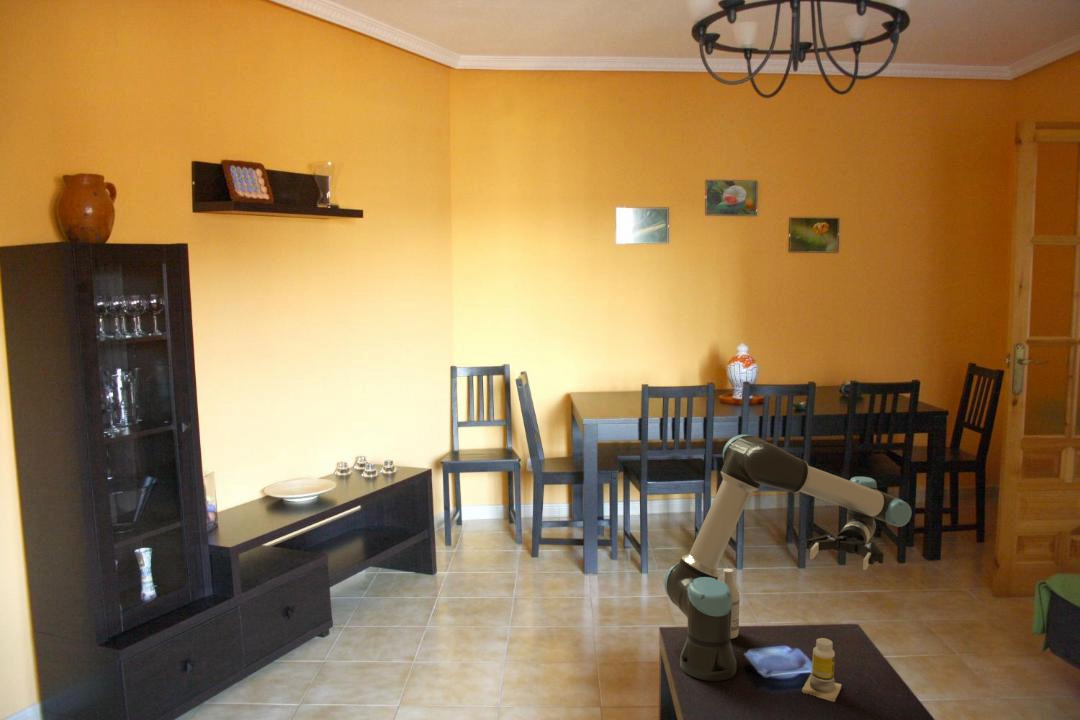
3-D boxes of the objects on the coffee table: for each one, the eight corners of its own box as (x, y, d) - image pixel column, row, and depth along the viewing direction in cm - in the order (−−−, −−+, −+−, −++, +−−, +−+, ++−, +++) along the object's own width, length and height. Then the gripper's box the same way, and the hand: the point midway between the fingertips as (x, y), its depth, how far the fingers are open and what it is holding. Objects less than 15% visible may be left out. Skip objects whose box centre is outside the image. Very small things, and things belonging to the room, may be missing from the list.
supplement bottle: (835, 683, 196) (837, 647, 195) (813, 681, 197) (814, 645, 196) (832, 673, 201) (833, 637, 200) (810, 671, 202) (811, 635, 201)
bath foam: (738, 630, 233) (741, 567, 231) (737, 641, 226) (740, 575, 224) (715, 627, 235) (717, 564, 233) (713, 637, 228) (715, 573, 226)
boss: (802, 692, 198) (802, 679, 198) (809, 679, 205) (810, 666, 204) (834, 702, 194) (835, 688, 193) (841, 687, 200) (841, 675, 200)
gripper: (899, 559, 217) (887, 583, 199) (808, 541, 231) (789, 563, 213) (901, 533, 216) (888, 555, 199) (810, 517, 230) (791, 536, 212)
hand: (837, 559), depth 206 cm, fingers open, 13 cm apart
